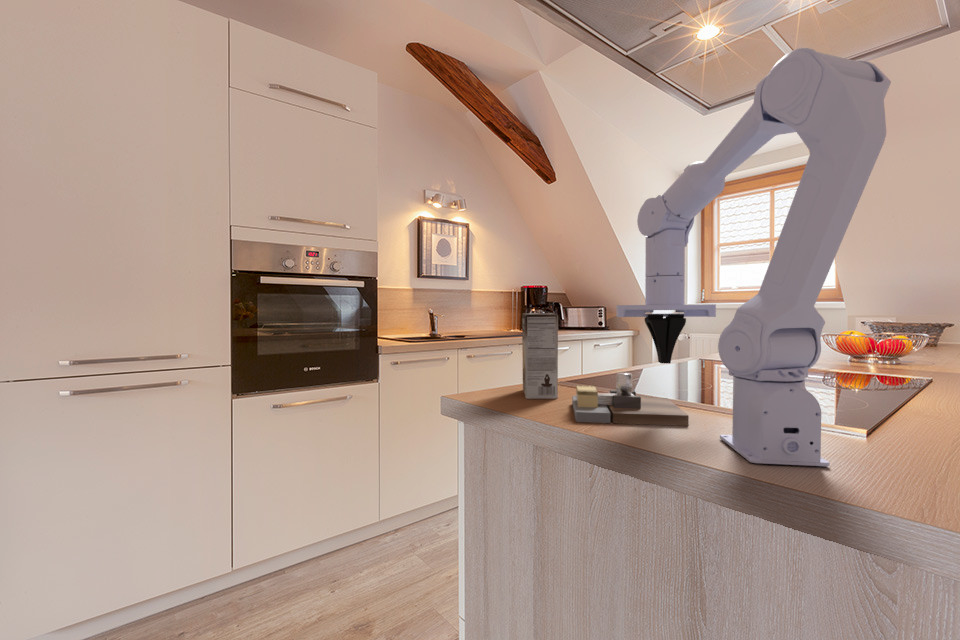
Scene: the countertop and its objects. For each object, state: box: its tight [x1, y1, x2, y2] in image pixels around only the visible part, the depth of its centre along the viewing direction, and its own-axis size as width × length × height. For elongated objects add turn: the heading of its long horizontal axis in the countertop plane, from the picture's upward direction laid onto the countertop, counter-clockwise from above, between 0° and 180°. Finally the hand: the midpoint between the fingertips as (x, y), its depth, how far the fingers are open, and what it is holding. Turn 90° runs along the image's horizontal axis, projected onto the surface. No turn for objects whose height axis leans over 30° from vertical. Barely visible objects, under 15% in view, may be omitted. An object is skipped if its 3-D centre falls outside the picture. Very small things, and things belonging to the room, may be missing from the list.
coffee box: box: [521, 312, 559, 400], centre depth 87 cm, size 9×6×16 cm
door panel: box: [606, 389, 690, 427], centre depth 71 cm, size 12×11×3 cm
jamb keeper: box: [571, 384, 611, 424], centre depth 72 cm, size 12×5×4 cm, turn 171°
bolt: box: [577, 372, 635, 405], centre depth 72 cm, size 2×9×5 cm, turn 81°
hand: (664, 362), depth 70 cm, fingers closed
